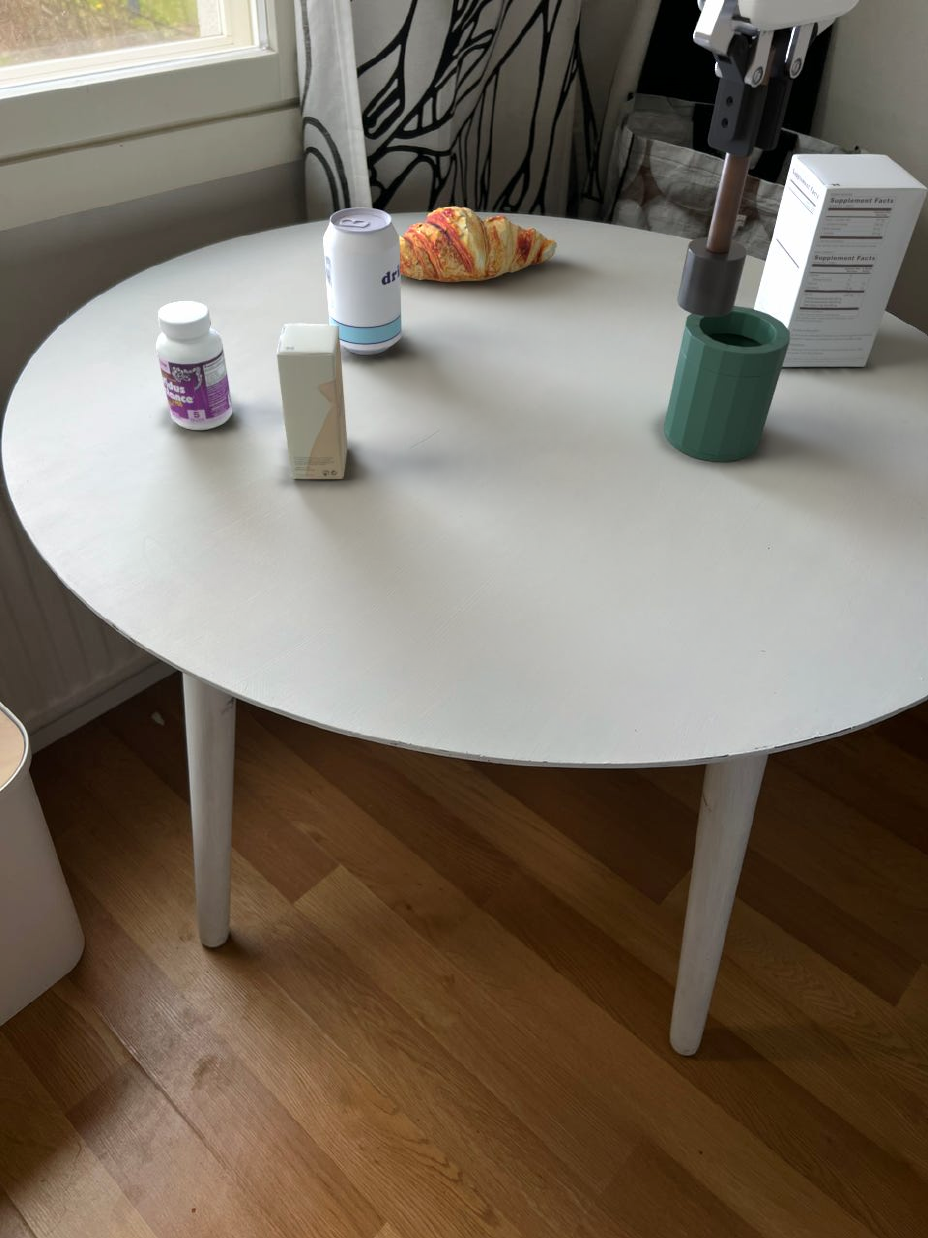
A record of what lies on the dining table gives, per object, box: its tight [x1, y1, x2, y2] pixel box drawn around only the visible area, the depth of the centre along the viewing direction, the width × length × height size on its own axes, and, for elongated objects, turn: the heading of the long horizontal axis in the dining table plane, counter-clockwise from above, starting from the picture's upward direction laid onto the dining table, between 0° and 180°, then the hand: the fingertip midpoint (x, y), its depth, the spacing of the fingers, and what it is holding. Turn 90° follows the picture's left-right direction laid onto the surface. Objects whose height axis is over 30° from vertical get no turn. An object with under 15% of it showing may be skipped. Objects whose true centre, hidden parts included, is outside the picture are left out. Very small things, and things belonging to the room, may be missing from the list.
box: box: [276, 323, 348, 480], centre depth 72 cm, size 5×4×11 cm
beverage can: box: [322, 206, 402, 356], centre depth 86 cm, size 7×7×12 cm
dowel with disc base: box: [676, 44, 776, 317], centre depth 60 cm, size 4×4×16 cm
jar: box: [663, 305, 790, 463], centre depth 77 cm, size 8×8×10 cm
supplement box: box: [753, 153, 928, 368], centre depth 87 cm, size 10×9×17 cm
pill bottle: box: [155, 300, 234, 431], centre depth 77 cm, size 5×5×10 cm
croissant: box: [399, 206, 558, 284], centre depth 101 cm, size 21×10×8 cm, turn 104°
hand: (741, 145), depth 58 cm, fingers closed on dowel with disc base, 1 cm apart
